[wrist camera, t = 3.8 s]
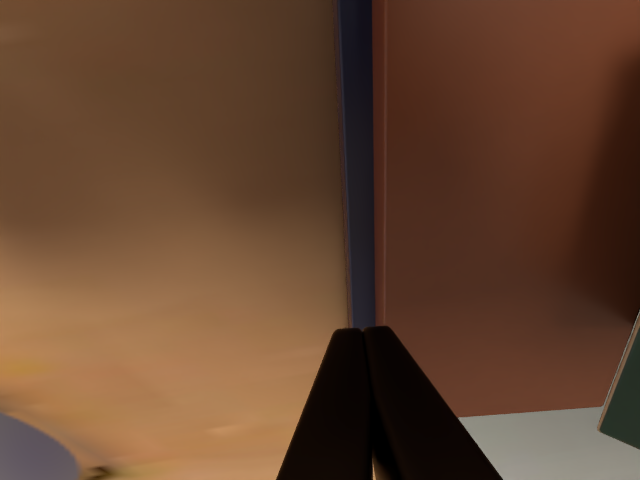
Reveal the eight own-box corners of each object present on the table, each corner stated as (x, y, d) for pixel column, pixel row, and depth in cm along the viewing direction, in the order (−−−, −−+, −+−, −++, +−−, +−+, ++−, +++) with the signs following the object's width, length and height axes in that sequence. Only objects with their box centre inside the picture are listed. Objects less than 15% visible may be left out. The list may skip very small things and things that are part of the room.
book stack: (349, 343, 18) (360, 444, 16) (320, -238, 10) (332, -244, 7) (549, 327, 18) (596, 425, 15) (703, -271, 10) (870, -289, 7)
